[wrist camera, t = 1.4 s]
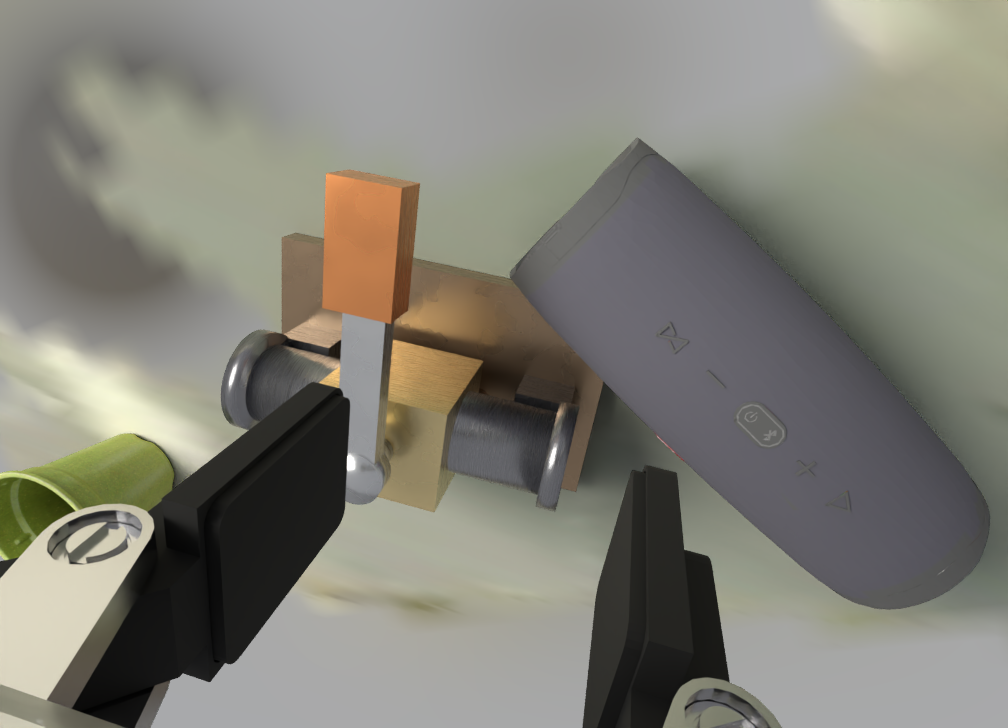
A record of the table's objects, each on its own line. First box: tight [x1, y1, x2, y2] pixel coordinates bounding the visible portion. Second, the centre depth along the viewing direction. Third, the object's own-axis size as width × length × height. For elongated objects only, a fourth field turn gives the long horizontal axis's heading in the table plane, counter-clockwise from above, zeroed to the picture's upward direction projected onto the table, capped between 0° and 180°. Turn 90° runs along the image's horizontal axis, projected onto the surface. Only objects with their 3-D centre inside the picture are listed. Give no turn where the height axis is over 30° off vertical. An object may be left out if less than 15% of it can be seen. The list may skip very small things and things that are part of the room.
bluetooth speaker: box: [510, 138, 990, 609], centre depth 28 cm, size 23×9×10 cm, turn 48°
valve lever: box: [322, 170, 420, 505], centre depth 24 cm, size 14×3×2 cm, turn 171°
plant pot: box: [0, 434, 174, 560], centre depth 42 cm, size 9×9×9 cm
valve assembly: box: [221, 233, 604, 512], centre depth 32 cm, size 20×12×11 cm, turn 81°
